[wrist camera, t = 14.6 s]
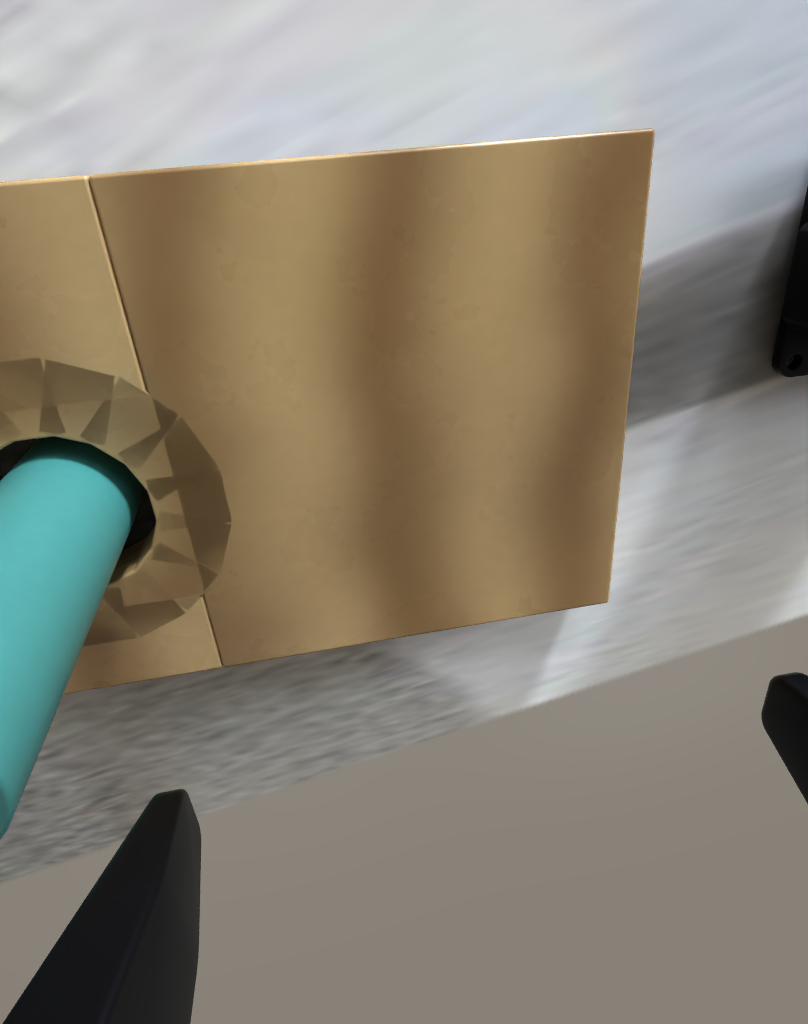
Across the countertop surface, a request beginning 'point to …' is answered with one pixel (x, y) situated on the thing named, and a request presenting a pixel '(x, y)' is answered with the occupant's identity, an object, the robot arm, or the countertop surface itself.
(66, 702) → the countertop surface
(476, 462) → the board
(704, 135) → the countertop surface
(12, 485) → the peg
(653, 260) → the countertop surface
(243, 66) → the countertop surface
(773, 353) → the robot arm
